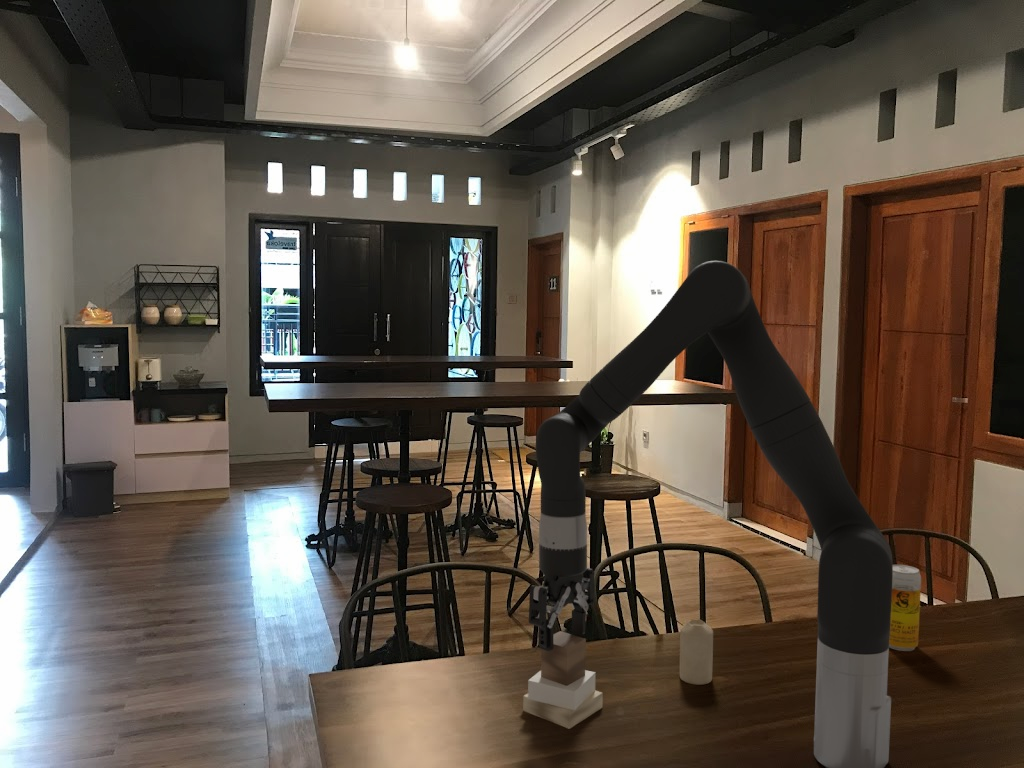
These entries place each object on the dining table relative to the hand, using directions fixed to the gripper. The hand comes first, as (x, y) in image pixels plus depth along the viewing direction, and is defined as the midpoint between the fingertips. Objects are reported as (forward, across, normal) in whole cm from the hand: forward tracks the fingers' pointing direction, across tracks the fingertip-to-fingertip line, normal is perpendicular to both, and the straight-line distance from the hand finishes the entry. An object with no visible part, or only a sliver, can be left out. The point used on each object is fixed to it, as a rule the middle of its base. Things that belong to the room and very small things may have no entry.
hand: (562, 641), depth 132 cm
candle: (+12, +24, -11) cm, 29 cm away
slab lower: (+12, 0, 0) cm, 12 cm away
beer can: (+12, +62, -34) cm, 72 cm away
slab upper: (+9, 0, 0) cm, 9 cm away
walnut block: (+6, 0, 0) cm, 6 cm away
